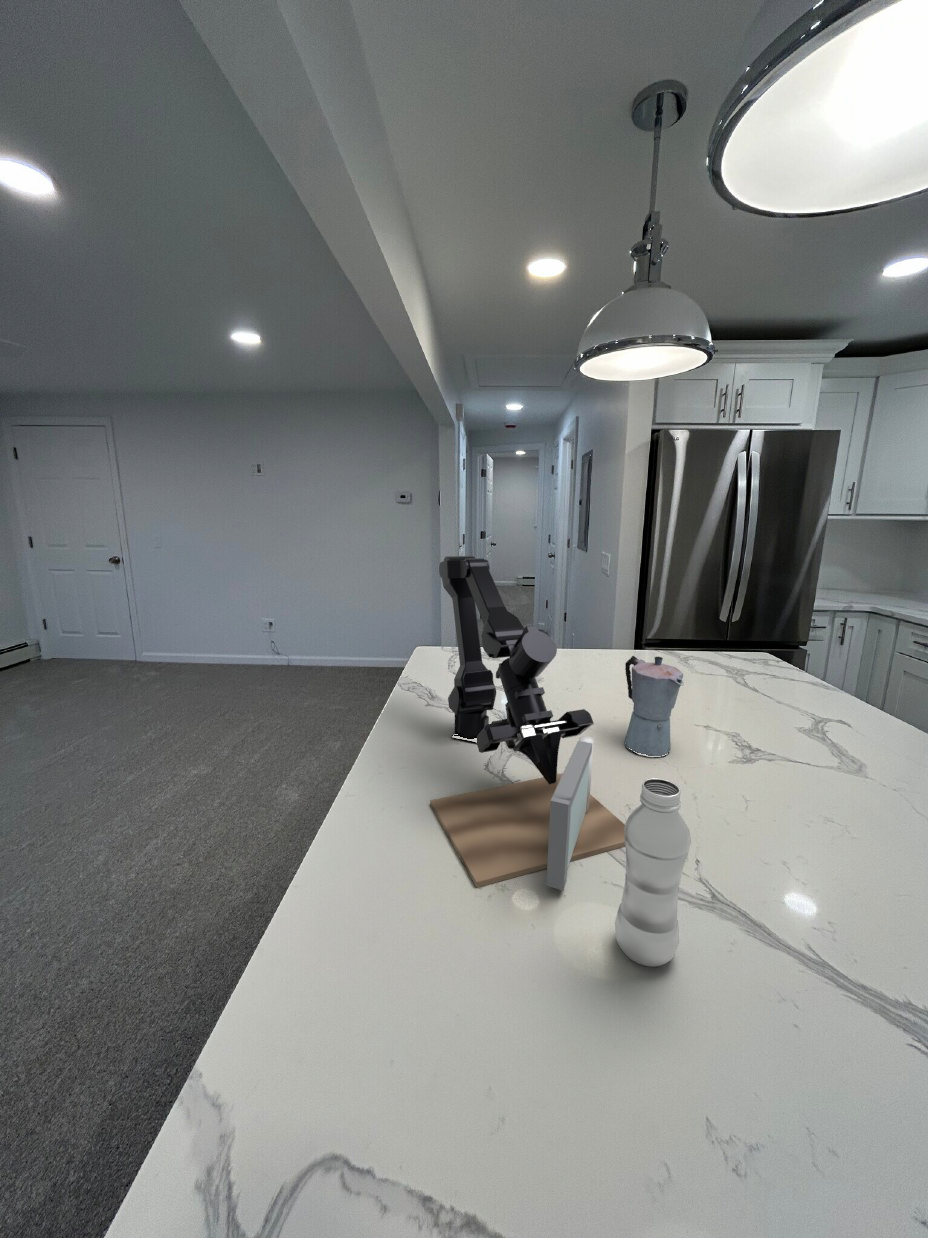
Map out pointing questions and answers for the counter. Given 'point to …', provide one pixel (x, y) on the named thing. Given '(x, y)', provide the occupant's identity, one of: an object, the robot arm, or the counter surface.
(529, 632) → the robot arm
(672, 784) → the plastic bottle
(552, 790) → the walnut board
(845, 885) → the counter surface
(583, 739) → the light blue panel
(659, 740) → the moka pot
